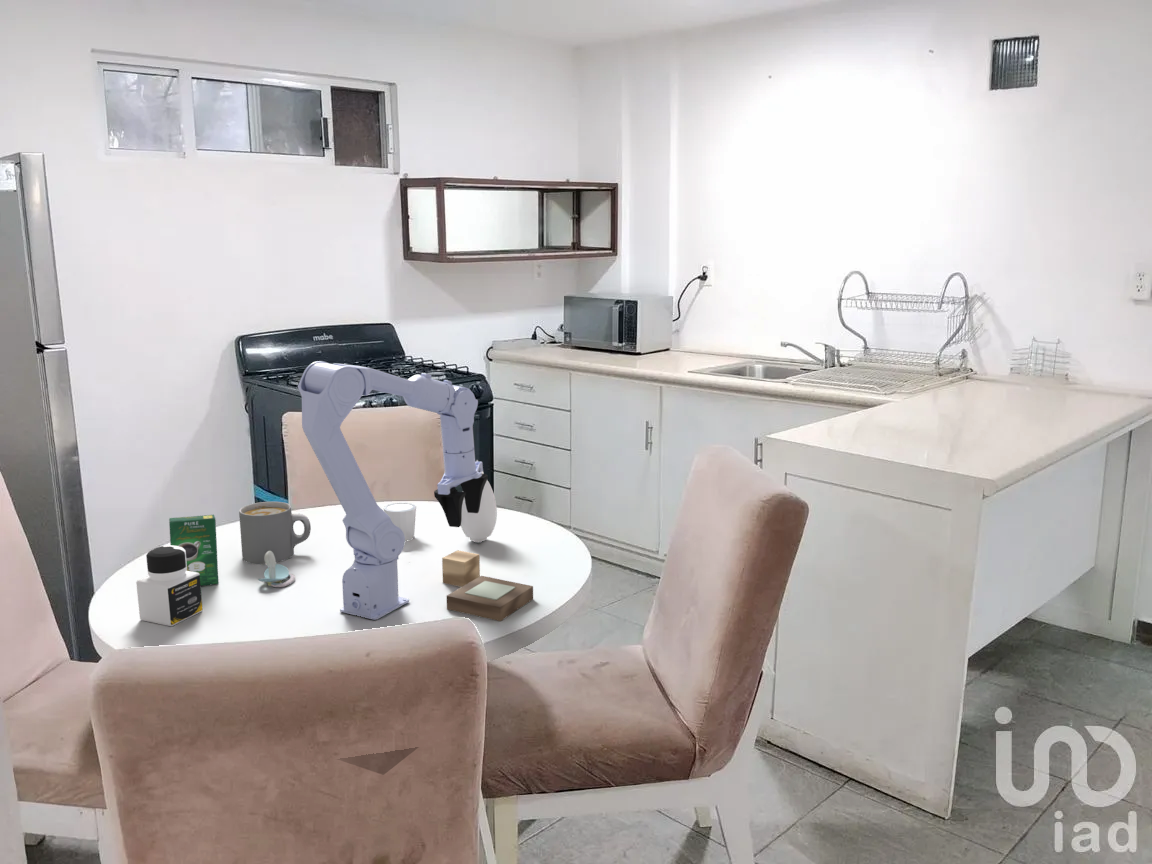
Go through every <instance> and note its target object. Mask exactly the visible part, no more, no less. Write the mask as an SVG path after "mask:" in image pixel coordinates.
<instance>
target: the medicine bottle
mask: <svg viewBox="0 0 1152 864" xmlns="http://www.w3.org/2000/svg"><path fill="white" fill-rule="evenodd" d="M146 565H147V576H145V577H142V578H140V579H137V580H136V582H135V583H136V591H137V603H138V613H139V620H140V621H143V622H149V623H151V624H152V623H153V624H159V625H161V626H162V625H163V626H168V627H173V626H175V625H178V624H180V623H181V622H184V621H186V620H188V619H190V618H192V617H194V616H196V615H198V614H200V613H202V612H203V599H202V589H201V588H202V586H201V585H200V574H199V573H197V572H191V571H187V561H186V550H185V549H184V548H182V547H179V546H174V545H161V546H158V547H155V548H153V549H151V550H149V551H148V553H147V554H146Z"/></svg>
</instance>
